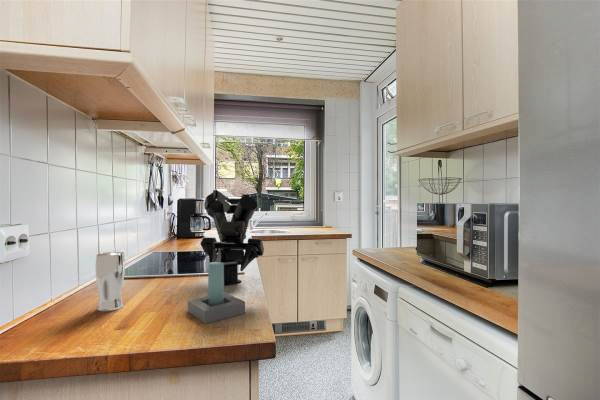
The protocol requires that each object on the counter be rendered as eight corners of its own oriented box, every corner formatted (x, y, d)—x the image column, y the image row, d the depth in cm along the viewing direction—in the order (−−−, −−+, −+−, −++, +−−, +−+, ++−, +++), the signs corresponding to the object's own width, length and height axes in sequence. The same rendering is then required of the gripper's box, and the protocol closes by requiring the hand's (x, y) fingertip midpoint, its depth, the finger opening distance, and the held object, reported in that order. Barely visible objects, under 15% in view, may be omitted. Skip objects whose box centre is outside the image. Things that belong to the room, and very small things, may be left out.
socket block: (187, 311, 85) (187, 300, 85) (225, 302, 92) (225, 292, 92) (205, 323, 77) (205, 311, 77) (245, 313, 84) (245, 301, 84)
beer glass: (91, 313, 84) (91, 256, 84) (100, 305, 91) (100, 252, 91) (121, 310, 86) (120, 255, 86) (127, 302, 93) (127, 251, 92)
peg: (205, 312, 85) (205, 263, 85) (219, 308, 87) (219, 261, 87) (212, 316, 82) (212, 265, 82) (226, 312, 84) (226, 263, 84)
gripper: (202, 211, 99) (185, 253, 88) (261, 211, 97) (251, 254, 86) (213, 233, 107) (198, 274, 96) (267, 234, 104) (259, 276, 94)
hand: (225, 270), depth 93 cm, fingers open, 9 cm apart
